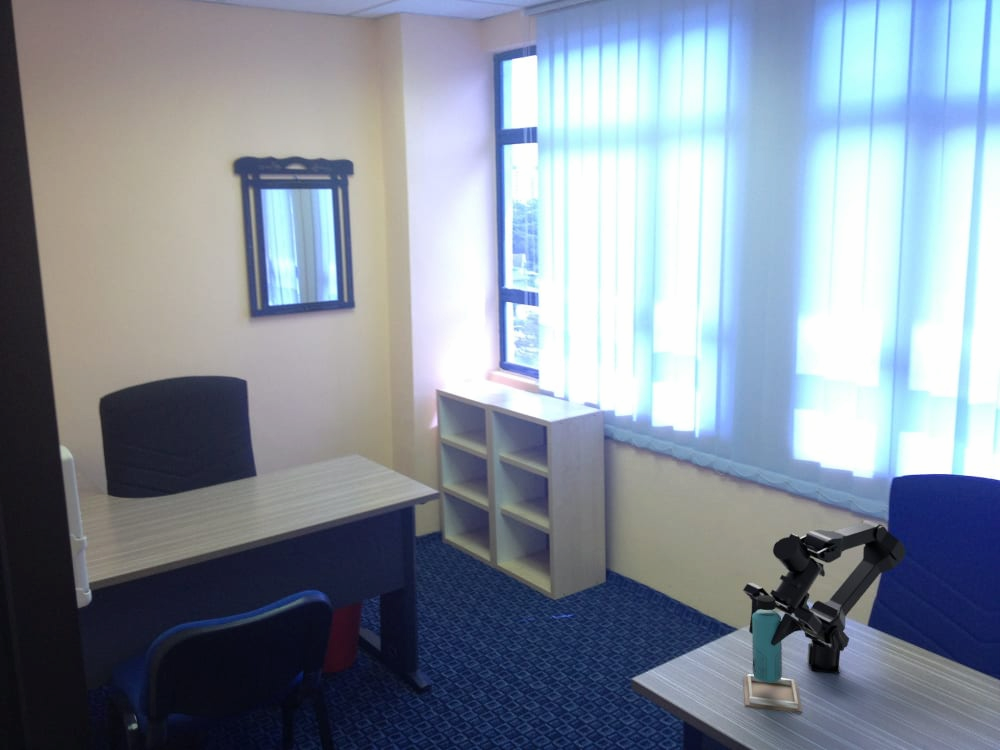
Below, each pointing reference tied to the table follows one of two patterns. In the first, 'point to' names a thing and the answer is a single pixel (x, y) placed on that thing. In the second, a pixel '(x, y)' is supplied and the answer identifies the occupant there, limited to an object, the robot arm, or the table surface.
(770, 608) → the beverage bottle
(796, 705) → the tray
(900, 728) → the table surface
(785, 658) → the table surface
